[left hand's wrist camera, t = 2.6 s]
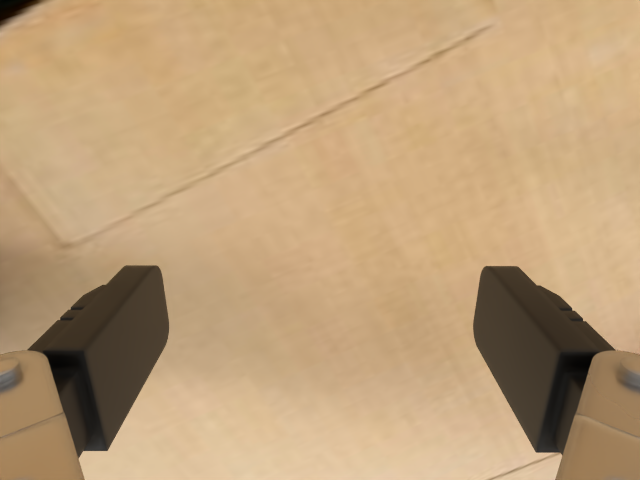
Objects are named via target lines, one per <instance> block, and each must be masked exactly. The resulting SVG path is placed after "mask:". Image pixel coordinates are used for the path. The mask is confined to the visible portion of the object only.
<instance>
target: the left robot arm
mask: <svg viewBox="0 0 640 480" xmlns="http://www.w3.org/2000/svg"><path fill="white" fill-rule="evenodd" d="M473 330H474V338H475V342H476V345H477V347H478V349H479V351H480V353H481V355H482V356H483V358H484V360H485V362H486V363H487V365H488V367H489V369H490V371H491V372H492V374H493V376H494V378H495V380H496V381H497V383H498V385H499V387H500V389H501V390H502V392H503V394H504V396H505V398H506V399H507V401H508V403H509V405H510V407H511V408H512V410H513V412H514V414H515V415H516V417H517V419H518V421H519V423H520V424H521V426H522V428H523V430H524V432H525V433H526V435H527V437H528V439H529V441H530V442H531V444H532V446H533V448H534V450H535V451H536V452H561V454H562V459H561V463H560V466H559V469H558V473H557V476H556V479H555V480H640V355H638V354H635V353H630V352H625V351H616V350H615V349H614V348H613V347H612V346H611V345H610V344H609V343H608V342H607V341H606V340H604V339H603V338H602V337H601V336H600V335H599V334H598V333H597V332H596V331H595V330H594V329H593V328H592V327H591V326H590V325H589V324H588V323H587V322H586V321H583V318H582V317H581V316H580V315H579V314H578V313H577V312H575V311H572V308H571V307H570V306H569V305H568V304H567V303H566V302H565V301H564V300H563V299H562V298H561V297H560V296H558V295H557V294H555V293H553V292H551V291H549V290H547V289H545V288H544V287H542V286H537V285H536V284H535V283H534V282H533V281H532V280H531V279H530V278H529V277H528V276H527V275H526V274H525V273H524V272H523V271H522V270H521V269H520V268H519V267H517V266H486V267H484V268H483V270H482V272H481V276H480V282H479V289H478V295H477V302H476V309H475V315H474V323H473ZM168 333H169V319H168V312H167V306H166V299H165V292H164V285H163V279H162V273H161V270H160V268H159V267H158V266H124V267H123V268H122V269H121V270H120V271H119V272H118V273H117V274H116V275H115V276H114V277H113V278H112V279H111V280H110V281H109V283H108V284H107V285H102V286H100V287H98V288H96V289H94V290H92V291H90V292H89V293H87V294H85V295H83V296H82V297H81V298H80V299H79V300H78V301H77V302H76V303H75V304H74V305H73V306H72V307H71V310H68V311H67V312H66V313H65V314H64V315H63V316H62V317H61V319H60V320H58V321H57V322H56V323H55V324H53V325H52V326H51V327H50V328H49V329H48V330H47V331H46V332H45V333H44V334H43V335H42V336H41V337H40V338H39V339H38V340H37V341H36V342H35V343H34V344H33V345H32V346H31V347H30V348H29V349H28V350H27V351H15V352H10V353H5V354H2V355H0V480H85V479H84V476H83V473H82V469H81V466H80V463H79V457H80V455H81V454H82V452H83V451H108V449H109V447H110V445H111V443H112V442H113V440H114V438H115V436H116V434H117V433H118V431H119V429H120V427H121V425H122V423H123V422H124V420H125V418H126V416H127V414H128V413H129V411H130V409H131V407H132V405H133V403H134V402H135V400H136V398H137V396H138V394H139V393H140V391H141V389H142V387H143V385H144V383H145V382H146V380H147V378H148V376H149V374H150V373H151V371H152V369H153V367H154V365H155V364H156V362H157V360H158V358H159V356H160V354H161V353H162V351H163V349H164V347H165V345H166V342H167V339H168Z"/></svg>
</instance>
